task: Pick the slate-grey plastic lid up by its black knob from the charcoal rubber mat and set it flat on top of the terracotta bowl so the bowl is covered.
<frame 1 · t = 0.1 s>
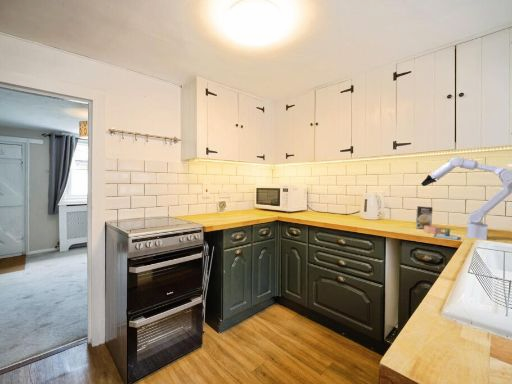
hand: (422, 184, 170), 32 cm above the worktop, tool tilted 50°, fingers open, 7 cm apart
bowl: (432, 233, 165), on the worktop
lid: (447, 237, 151), resting on mat
mat: (447, 237, 151), on the worktop
coffee box: (423, 229, 181), on the worktop
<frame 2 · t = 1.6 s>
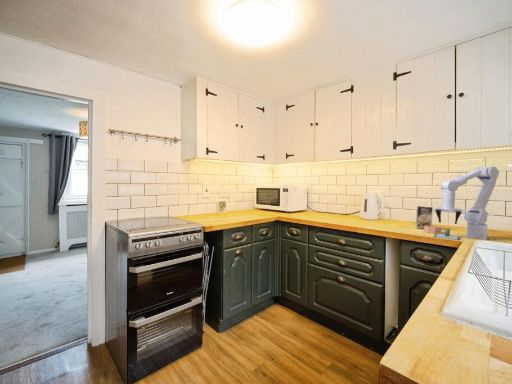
hand: (447, 223, 151), 9 cm above the worktop, tool pointing down, fingers open, 7 cm apart
nothing on the worktop moved.
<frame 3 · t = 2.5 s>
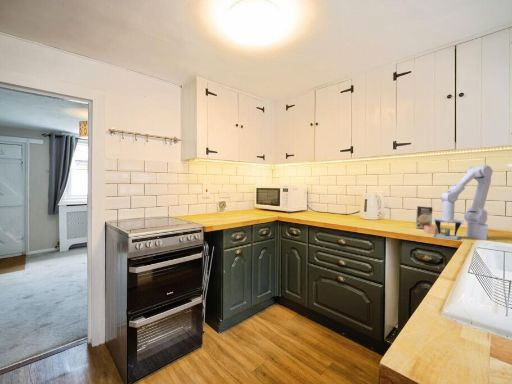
hand: (447, 234, 151), 2 cm above the worktop, tool pointing down, fingers open, 7 cm apart
nothing on the worktop moved.
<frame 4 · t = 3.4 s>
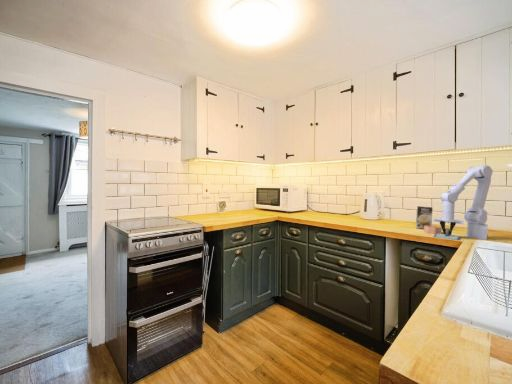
hand: (447, 234, 151), 2 cm above the worktop, tool pointing down, fingers closed on lid, 2 cm apart
lid: (447, 237, 151), resting on mat, touching gripper
everything else where it was.
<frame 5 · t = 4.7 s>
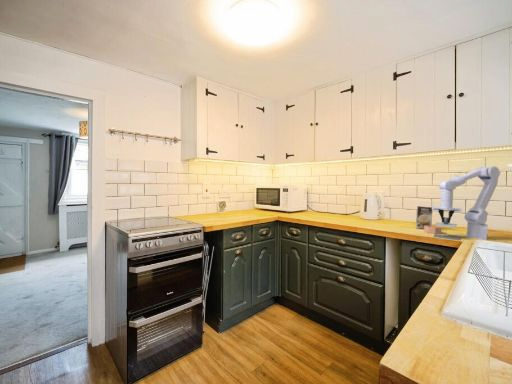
hand: (445, 222, 153), 9 cm above the worktop, tool pointing down, fingers closed on lid, 2 cm apart
lid: (445, 225, 153), point 7 cm above the worktop, touching gripper
everything else where it was.
when the fingers open (7 cm above the worktop, at t = 6.4 s): lid drops 1 cm, resting on bowl.
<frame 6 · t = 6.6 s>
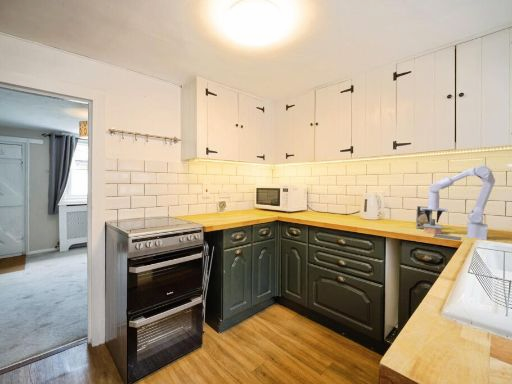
hand: (432, 222, 165), 7 cm above the worktop, tool pointing down, fingers open, 4 cm apart
lid: (432, 226, 165), point 4 cm above the worktop, touching bowl
everything else where it was.
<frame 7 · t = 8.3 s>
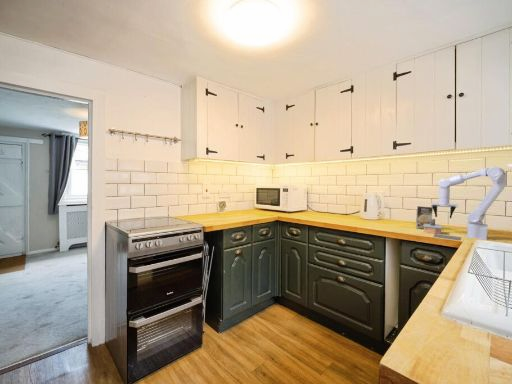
hand: (443, 217, 165), 10 cm above the worktop, tool pointing down, fingers open, 7 cm apart
nothing on the worktop moved.
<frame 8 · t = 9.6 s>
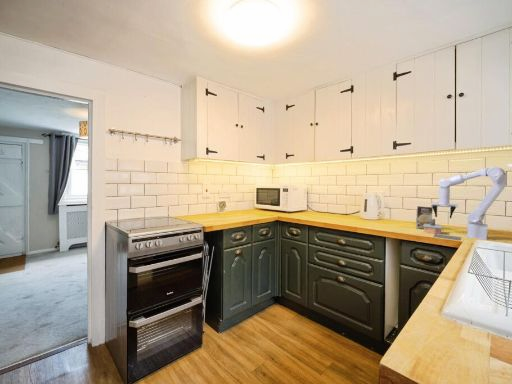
hand: (443, 217, 165), 10 cm above the worktop, tool pointing down, fingers open, 7 cm apart
nothing on the worktop moved.
at the end: lid 0.2 cm off-centre on the bowl, point 4.5 cm above the bowl's base; lid tilted 0°; the gripper is holding nothing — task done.
